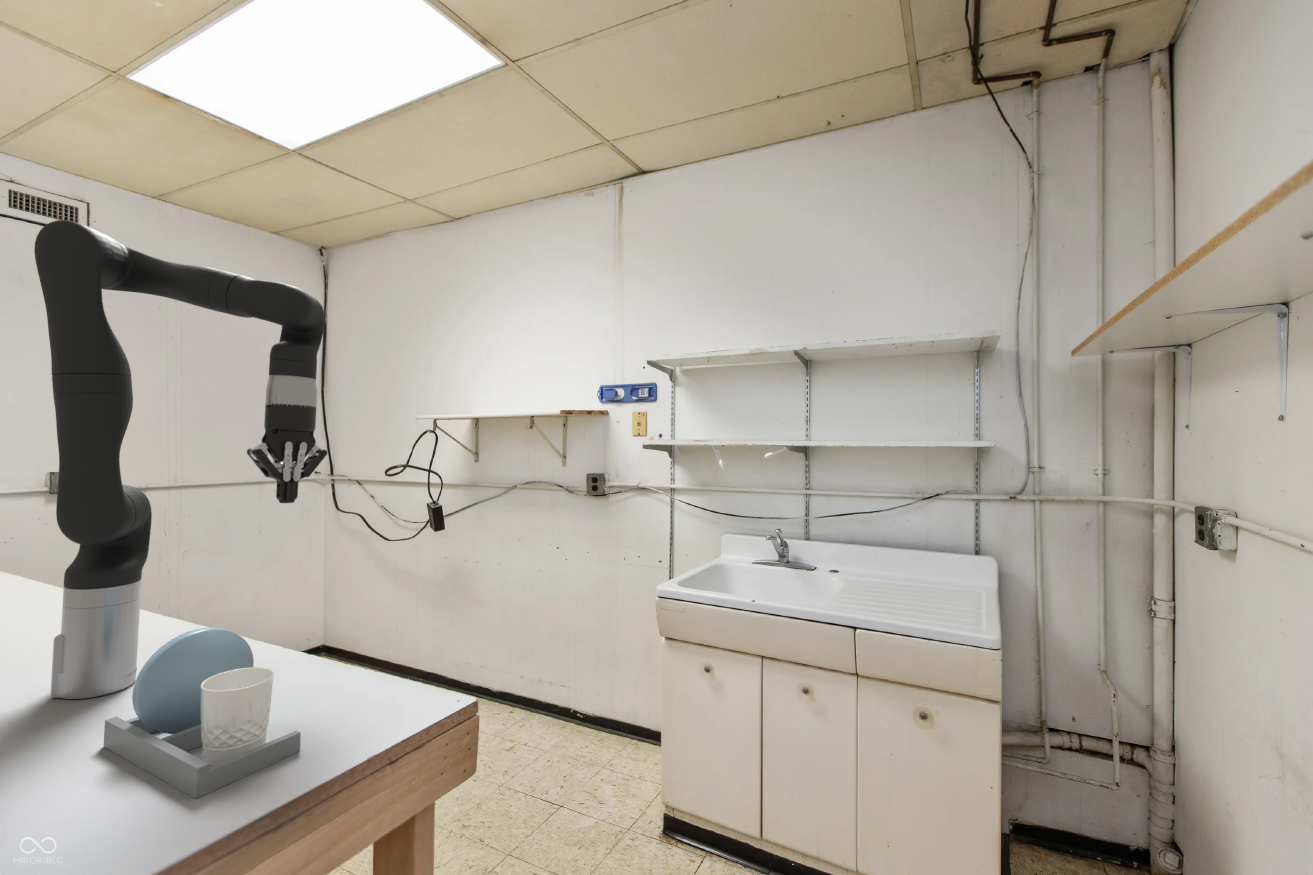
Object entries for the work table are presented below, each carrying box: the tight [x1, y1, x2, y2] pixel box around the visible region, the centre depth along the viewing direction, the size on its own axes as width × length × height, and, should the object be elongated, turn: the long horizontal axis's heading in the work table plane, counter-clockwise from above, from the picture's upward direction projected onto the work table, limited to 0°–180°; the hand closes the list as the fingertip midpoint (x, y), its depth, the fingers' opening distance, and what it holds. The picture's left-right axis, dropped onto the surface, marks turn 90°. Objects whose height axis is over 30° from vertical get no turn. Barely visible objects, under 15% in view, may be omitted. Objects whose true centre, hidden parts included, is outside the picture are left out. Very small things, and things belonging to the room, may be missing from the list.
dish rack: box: [103, 627, 302, 799], centre depth 78 cm, size 15×23×14 cm, turn 64°
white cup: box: [201, 666, 275, 767], centre depth 76 cm, size 8×8×10 cm
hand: (286, 502), depth 99 cm, fingers closed
